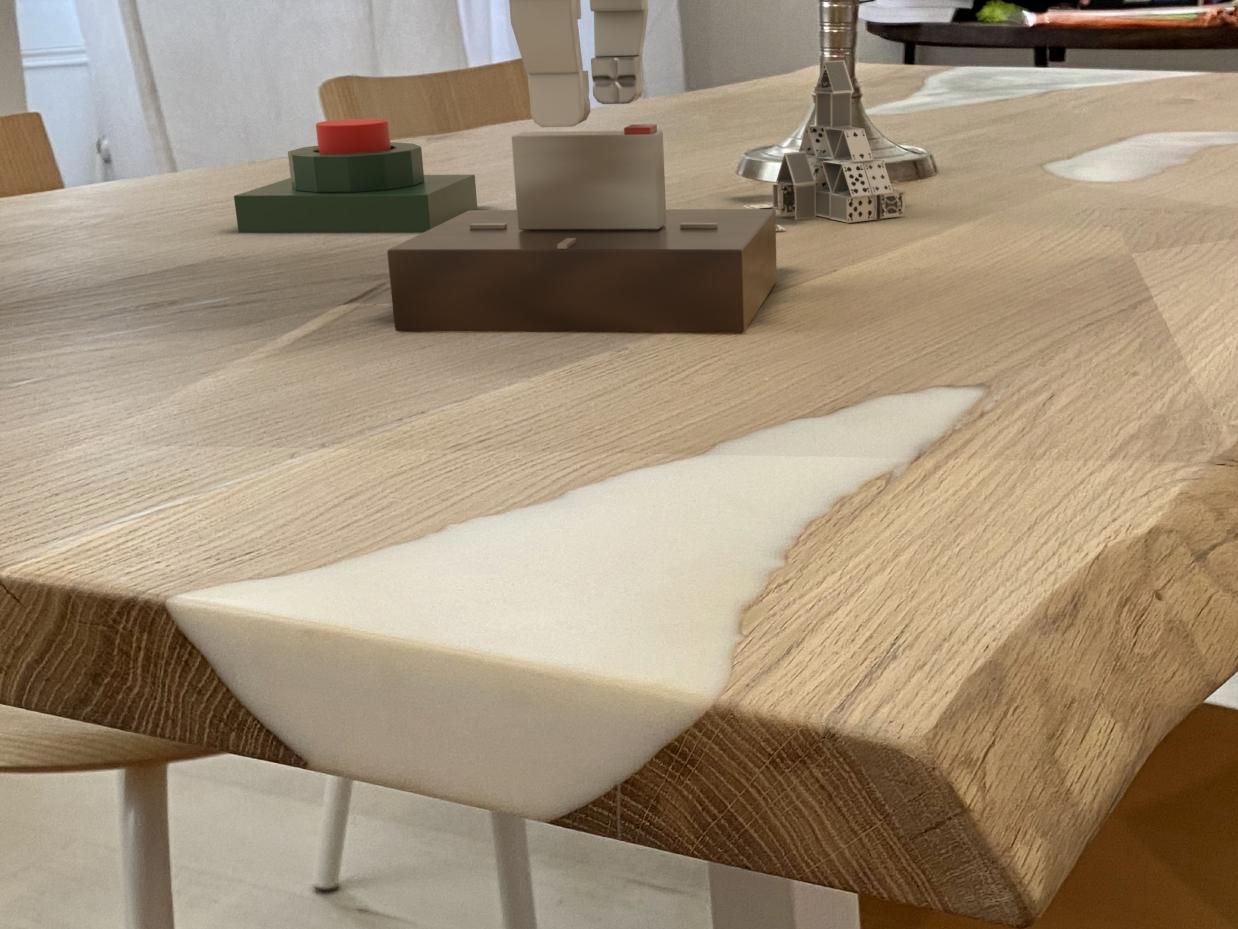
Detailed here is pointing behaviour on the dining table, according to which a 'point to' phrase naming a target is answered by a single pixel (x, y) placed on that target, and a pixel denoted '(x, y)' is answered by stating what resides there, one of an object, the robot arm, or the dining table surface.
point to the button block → (356, 194)
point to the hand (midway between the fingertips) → (592, 113)
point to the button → (353, 136)
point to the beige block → (590, 179)
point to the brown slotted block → (586, 275)
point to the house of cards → (834, 164)
